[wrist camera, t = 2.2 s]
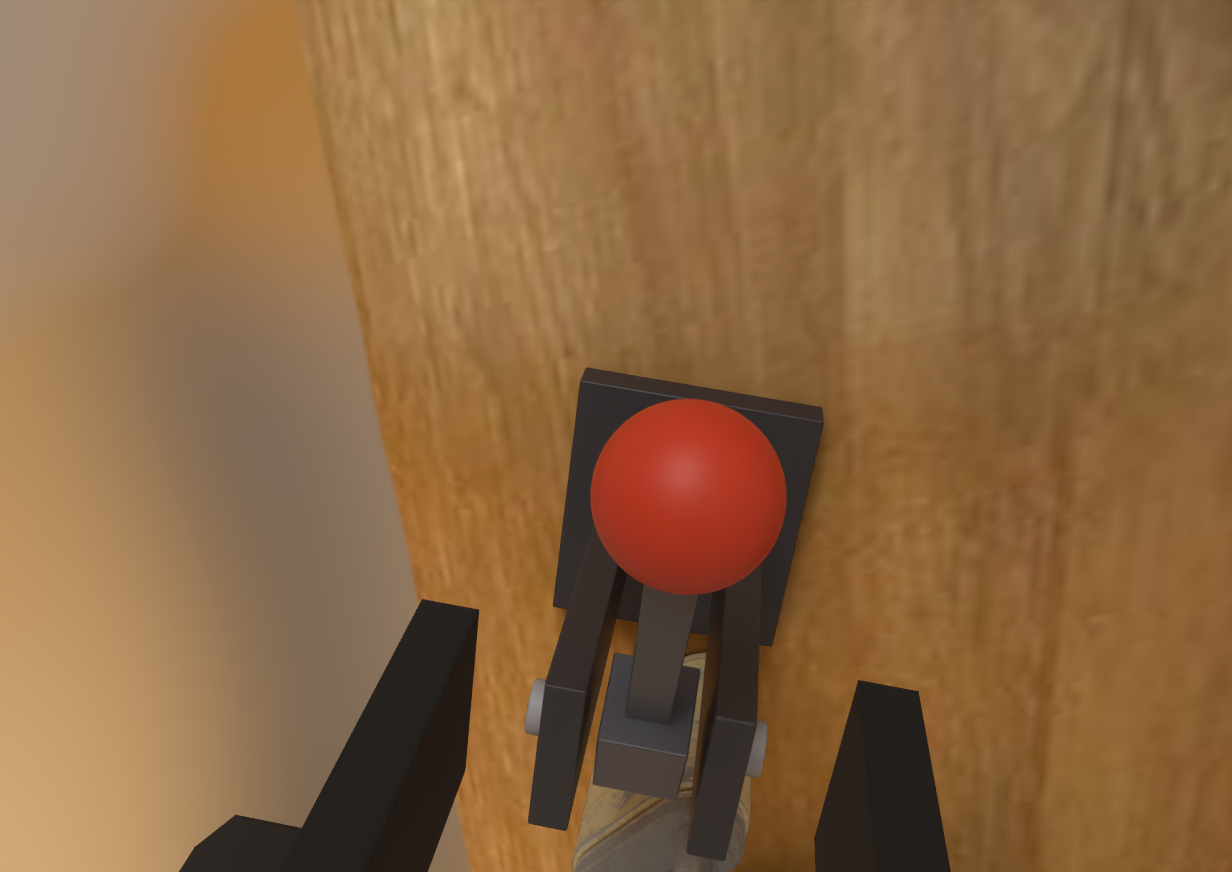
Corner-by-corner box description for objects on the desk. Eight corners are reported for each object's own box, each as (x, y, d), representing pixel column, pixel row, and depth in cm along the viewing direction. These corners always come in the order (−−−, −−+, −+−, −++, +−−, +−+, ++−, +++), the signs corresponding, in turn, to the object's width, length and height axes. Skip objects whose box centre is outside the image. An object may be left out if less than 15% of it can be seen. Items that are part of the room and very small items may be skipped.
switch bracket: (585, 367, 37) (488, 591, 25) (822, 407, 37) (844, 656, 24) (558, 588, 41) (462, 878, 29) (772, 628, 41) (768, 940, 28)
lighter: (643, 783, 45) (609, 1002, 36) (575, 725, 44) (523, 934, 35) (775, 691, 42) (774, 903, 33) (705, 627, 41) (685, 827, 32)
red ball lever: (614, 343, 20) (576, 499, 18) (810, 376, 20) (795, 538, 18) (587, 676, 30) (561, 802, 28) (716, 700, 30) (700, 829, 28)
